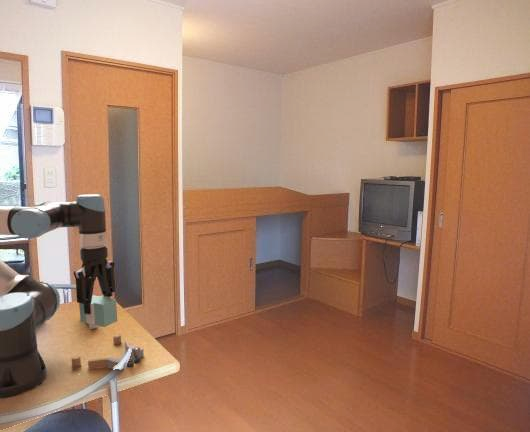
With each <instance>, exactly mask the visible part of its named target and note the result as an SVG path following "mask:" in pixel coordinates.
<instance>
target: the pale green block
mask: <svg viewBox="0 0 530 432" xmlns="http://www.w3.org/2000/svg"><path fill="white" fill-rule="evenodd" d="M100 296H101V295H94V294H92V301H91V303H94V314H95V324H92V325H97V327H102V328H106V327H108V326H110V325H113V324H115V323H116V322H118V313H117V312H118V310H117V309H118V308H117V299H116V298H111V297H110V298H106V297H100ZM78 305H79V317H80V318H79V319H80V322H81V323H85V324H88V325H89V323H87V320H86V314H85V313H84V304H81V303H78Z"/></svg>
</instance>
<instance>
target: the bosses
mask: <svg viewBox="0 0 530 432" xmlns="http://www.w3.org/2000/svg"><path fill="white" fill-rule="evenodd" d="M135 347H136V348H134V349H133V352H131V356H130V359H129V361H128V363H127V365H125V366H126V368H127V369H130V368H133V367H134V365H135V364H139V363H141V361H142V360H141V358H142V357H141V354H140V348H141V347H140V346H135ZM133 355H134V356H133Z"/></svg>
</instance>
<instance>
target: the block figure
mask: <svg viewBox="0 0 530 432" xmlns="http://www.w3.org/2000/svg"><path fill="white" fill-rule="evenodd" d="M112 338H113V342H112V343H113V345H114V346H115V345H116V346H118V345H120V344H122V335H121V334H114V335H113V336H112ZM136 347H137V346H134V345H131V343H130V341H129V339H128V338H126V339H124V348H125V350H126V351H127V350H128V349H129V348H131V349H132V352H133V349H134V348H136ZM139 348H140V354H141V358H143V357H144V356H145V355H144V348H142V347H139ZM133 357H134V355H133ZM120 360H121V359H119V358H114V357H103V358H102V357H101V358H93V359H88V361H87V365H88V367H87V368H88V370H93V369H94V370H95V369H104V368H108V369H112V368H113V367H114V366H115V365H117V364H118V363H119V362H120ZM81 366H82V359H81V356H80V355H76V356H72V357H71V368H73V369H76V368H77V369H78V368H79V367H81Z"/></svg>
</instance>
